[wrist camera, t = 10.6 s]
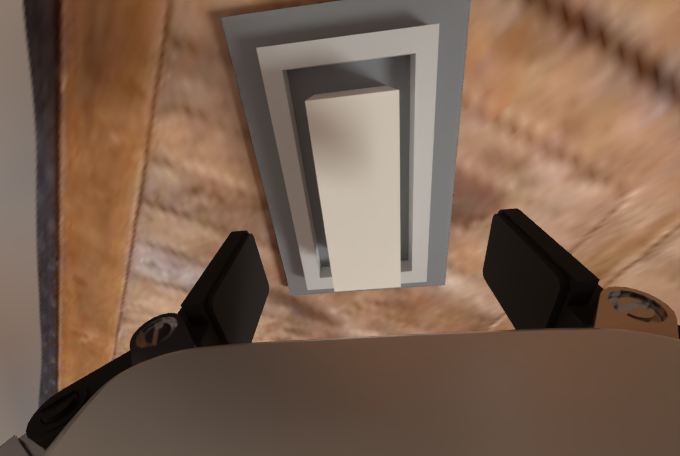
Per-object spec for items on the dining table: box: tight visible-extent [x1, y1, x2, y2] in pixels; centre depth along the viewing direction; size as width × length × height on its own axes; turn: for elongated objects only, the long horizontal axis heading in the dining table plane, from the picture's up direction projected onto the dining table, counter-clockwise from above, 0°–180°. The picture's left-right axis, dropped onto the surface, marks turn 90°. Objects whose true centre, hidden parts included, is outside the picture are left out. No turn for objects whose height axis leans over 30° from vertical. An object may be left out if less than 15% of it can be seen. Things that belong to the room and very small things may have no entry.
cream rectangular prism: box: [305, 86, 401, 292], centre depth 18 cm, size 12×4×5 cm, turn 6°
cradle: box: [221, 0, 471, 296], centre depth 20 cm, size 21×14×2 cm, turn 6°
